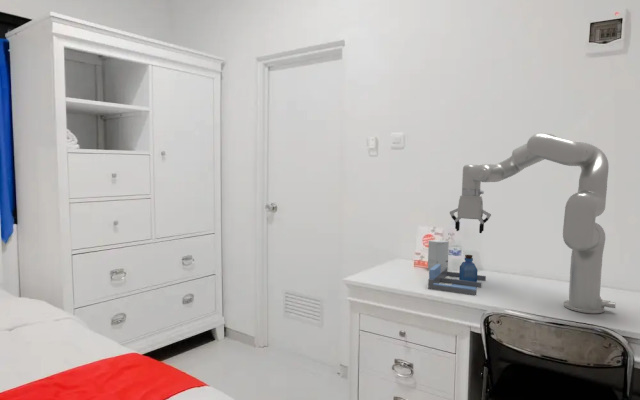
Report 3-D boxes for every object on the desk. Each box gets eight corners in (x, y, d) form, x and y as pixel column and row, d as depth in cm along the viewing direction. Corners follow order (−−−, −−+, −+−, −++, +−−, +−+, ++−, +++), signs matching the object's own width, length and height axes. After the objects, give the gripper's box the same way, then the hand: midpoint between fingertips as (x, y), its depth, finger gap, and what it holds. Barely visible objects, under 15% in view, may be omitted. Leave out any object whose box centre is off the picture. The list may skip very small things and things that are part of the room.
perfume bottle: (473, 280, 193) (474, 254, 192) (476, 284, 187) (477, 257, 186) (459, 280, 194) (460, 253, 193) (462, 283, 188) (463, 256, 187)
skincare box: (435, 272, 207) (436, 242, 206) (427, 269, 213) (427, 240, 212) (448, 270, 211) (449, 240, 210) (439, 268, 217) (440, 239, 216)
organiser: (485, 280, 193) (486, 262, 193) (476, 295, 170) (476, 275, 169) (443, 275, 202) (443, 258, 202) (428, 288, 179) (428, 270, 178)
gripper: (493, 193, 187) (491, 232, 188) (452, 191, 195) (450, 229, 196) (490, 194, 180) (488, 234, 181) (448, 192, 188) (447, 231, 190)
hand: (469, 231), depth 189 cm, fingers open, 9 cm apart
